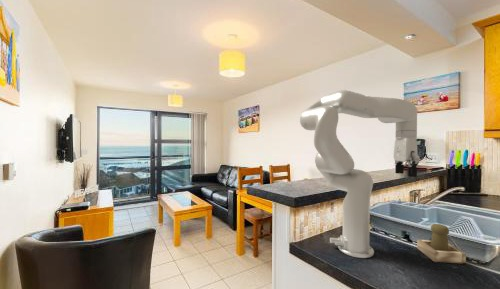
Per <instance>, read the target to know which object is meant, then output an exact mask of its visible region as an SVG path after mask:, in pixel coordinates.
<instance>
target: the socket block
mask: <svg viewBox="0 0 500 289" xmlns="http://www.w3.org/2000/svg"><path fill="white" fill-rule="evenodd" d="M416 244H417V245H416V246H417V247H416V248H417V250H419V251H420V252H421V253H422V254H424V255H425V256H426V257H428V258H429V259H430V260H431V261H433V262H434V263H435V262H437V263H447V264H449V263H452V264H463V263H467V254H466V253H465V252H464V251H462V250H460V249H459V248H458V247H455V246H454V245H453V244H450V243H449V242H448V246H449V251H438V250H435V249H433V248H432V247H430V244H431V240H430V239H417V240H416Z"/></svg>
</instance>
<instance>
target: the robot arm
mask: <svg viewBox="0 0 500 289" xmlns="http://www.w3.org/2000/svg"><path fill="white" fill-rule="evenodd" d="M339 114H345V115H350V116H354V117H358V118H363V119H364V118H365V119H378V121H380V122H381V123H383V124H393V123H394V124H395V141H394V148H393V160H394V164H395V165H394V166H395V169H394V170H395V171H394V173H395V174H404V173H405V172H404V171H405V165H404V163H405V162H406V163H407V165H408V166H407V177H408V178H416V177H418V167H419V163H420V162H419V161H420V158H421V157H420V155H419V154H418V142H417V139H418V108H417V106H416V105H415V103H413V102H411V101H408V100H405V99H401V98H397V97H396V98H394V97H383V96H382V97H380V96H371V95H370V96H369V95H365V94H362V93H358V92H355V91H351V90H347V89H344V90H343V89H342V90H341V89H340V90H337V91H335V92H331V93H328V94H326V95H324V96H322V97H321V98H320V99H318V100H317V101H316V102H314V103H313V104H312V105H310V106H309V107H307V108H306V109H304V111H302V113H301V115H300V117H299V118H300V119H299V123H300V125H301V127H302V128H303V129H304V130H307V131H314V136H313V145H314V147H315V150H316V151H317V153H316V155H315V157H314V158H315V159H314V163H315V167H316V168H317V169H316V170H318V171H319V173H320V174H321V175H322V177H324V179H325V180H326V181H327V182H328V184H330V185H331V187H333V188H334V189H336V190H339V191H343V192H346V195H345V197H344V198H343V201H342V234H340V236H338V237H329V243H330V244H334V245H335V246H337V248H338V249H339V251H340V252H342V253H344V254H345V255H347V256H350V257H353V258H357V259H367V258H371V257H373V256H374V254H375V250H374V248H373V247H371V245H370V206H371V204H370V203H371V195H372V190H373V187H374V180H373V178H372V176H371V175H370V174H369V173H368V172H367V171H364V170H361V169H357V168H355V162H354V158H353V157H352V156H351V154H350V153H349V152H348V150H347V149H346V148H345V147H344V145H343V144H342V143H341V142H340V140H339V138H338V136H337V127H338V123H339Z"/></svg>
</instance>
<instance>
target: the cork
mask: <svg viewBox="0 0 500 289" xmlns="http://www.w3.org/2000/svg"><path fill="white" fill-rule="evenodd" d="M430 231H431V232H432V235H431V244H430V247H432V248H433V249H435V250H438V251H449V246H448V243H449V240H448V235H449V233H450V229H449V227H448V226H446V225H444V224H440V223H432V224H431V226H430Z"/></svg>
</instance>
